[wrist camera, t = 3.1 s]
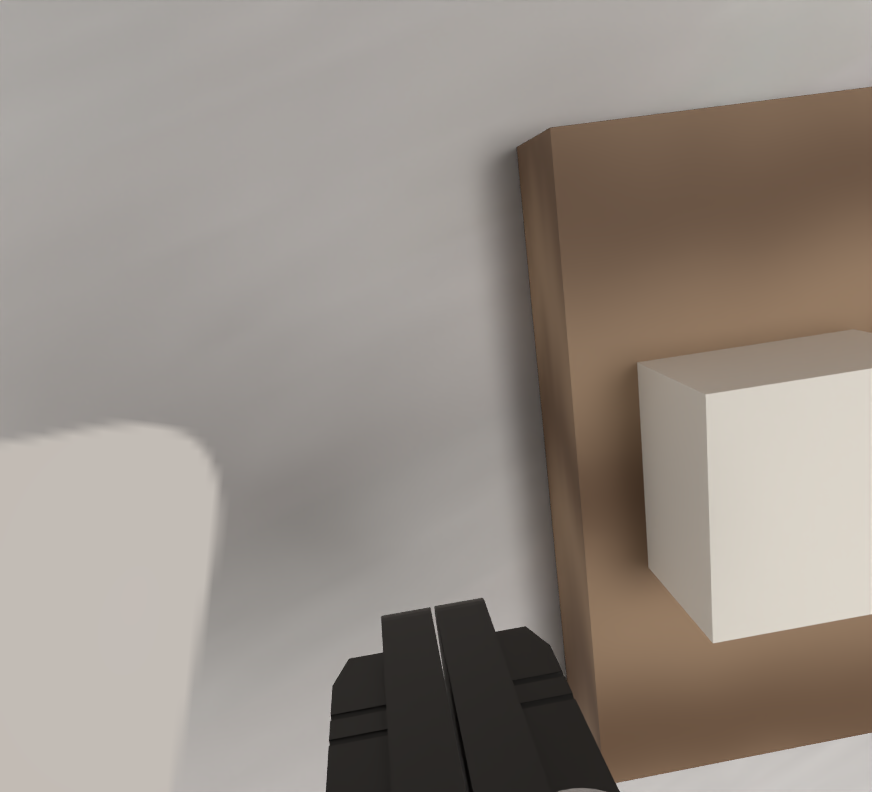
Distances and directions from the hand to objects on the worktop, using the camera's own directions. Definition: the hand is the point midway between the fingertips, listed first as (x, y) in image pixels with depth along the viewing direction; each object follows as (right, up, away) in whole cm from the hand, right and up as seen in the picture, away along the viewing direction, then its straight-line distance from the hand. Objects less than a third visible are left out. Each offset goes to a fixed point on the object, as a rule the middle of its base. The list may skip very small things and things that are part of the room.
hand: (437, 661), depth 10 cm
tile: (+7, +3, +5) cm, 9 cm away
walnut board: (+11, +3, +9) cm, 14 cm away
